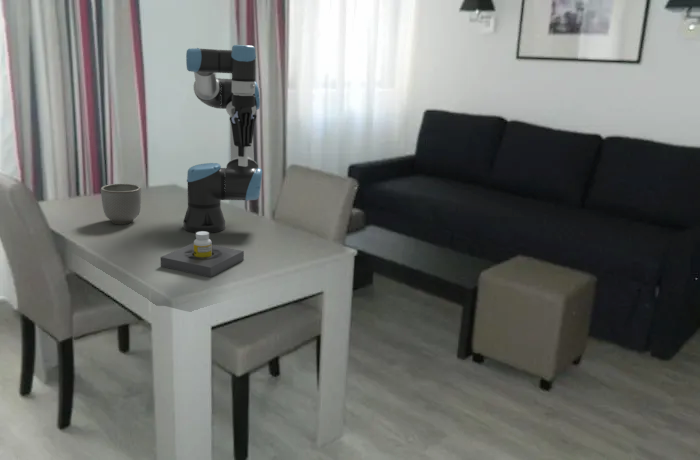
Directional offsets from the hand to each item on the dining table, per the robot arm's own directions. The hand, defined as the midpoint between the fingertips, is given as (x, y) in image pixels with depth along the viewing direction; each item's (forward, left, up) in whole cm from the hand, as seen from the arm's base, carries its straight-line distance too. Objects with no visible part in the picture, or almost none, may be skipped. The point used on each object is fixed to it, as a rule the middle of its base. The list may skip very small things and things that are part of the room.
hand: (243, 165), depth 216 cm
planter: (-49, -4, -27) cm, 56 cm away
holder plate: (+2, -26, -26) cm, 37 cm away
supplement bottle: (+2, -26, -27) cm, 37 cm away
